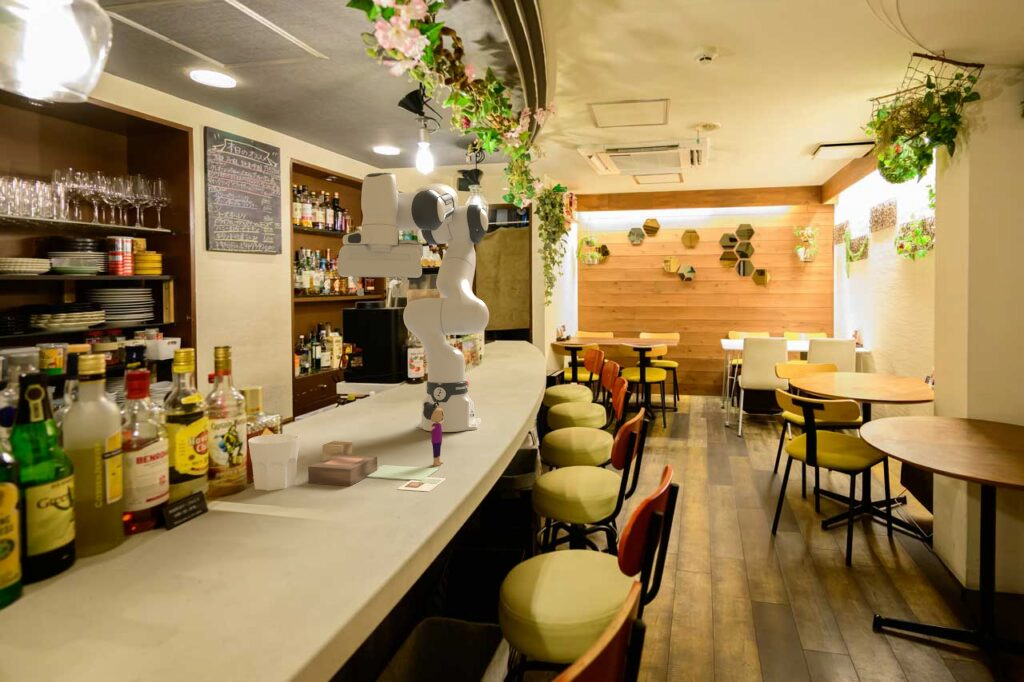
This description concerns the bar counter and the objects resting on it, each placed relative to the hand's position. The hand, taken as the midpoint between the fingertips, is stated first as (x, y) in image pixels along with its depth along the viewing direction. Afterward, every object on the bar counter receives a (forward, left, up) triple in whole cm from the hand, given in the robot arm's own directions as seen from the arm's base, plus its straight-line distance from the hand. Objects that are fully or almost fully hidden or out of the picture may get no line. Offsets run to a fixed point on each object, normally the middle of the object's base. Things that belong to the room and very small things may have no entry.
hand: (380, 295), depth 149 cm
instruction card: (+18, +18, -40) cm, 48 cm away
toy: (+2, +14, -41) cm, 43 cm away
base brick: (+17, -1, -40) cm, 44 cm away
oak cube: (+6, -9, -41) cm, 42 cm away
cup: (+26, -12, -41) cm, 50 cm away
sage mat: (+11, +10, -40) cm, 43 cm away
